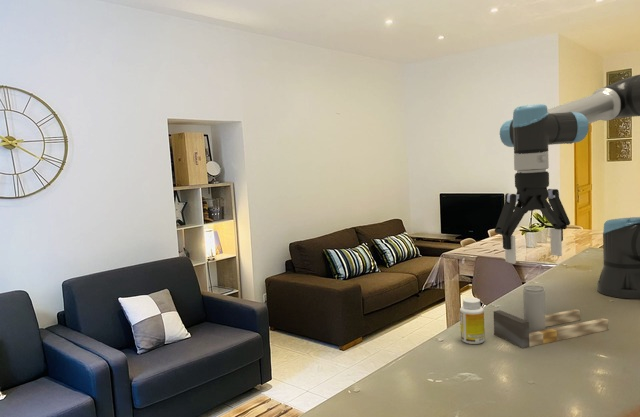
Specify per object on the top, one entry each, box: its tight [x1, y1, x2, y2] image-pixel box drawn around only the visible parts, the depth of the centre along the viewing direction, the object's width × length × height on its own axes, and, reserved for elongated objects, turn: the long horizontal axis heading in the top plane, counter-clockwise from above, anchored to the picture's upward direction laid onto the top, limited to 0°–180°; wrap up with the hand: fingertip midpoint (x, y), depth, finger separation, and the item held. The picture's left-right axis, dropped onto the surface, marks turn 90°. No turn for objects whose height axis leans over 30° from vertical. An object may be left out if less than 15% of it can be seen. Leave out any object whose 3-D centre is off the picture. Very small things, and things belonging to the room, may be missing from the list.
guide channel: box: [493, 308, 609, 349], centre depth 121 cm, size 26×10×6 cm, turn 108°
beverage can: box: [522, 284, 546, 333], centre depth 119 cm, size 5×5×12 cm
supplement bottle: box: [459, 297, 486, 345], centre depth 118 cm, size 6×6×10 cm
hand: (533, 259), depth 118 cm, fingers open, 13 cm apart
